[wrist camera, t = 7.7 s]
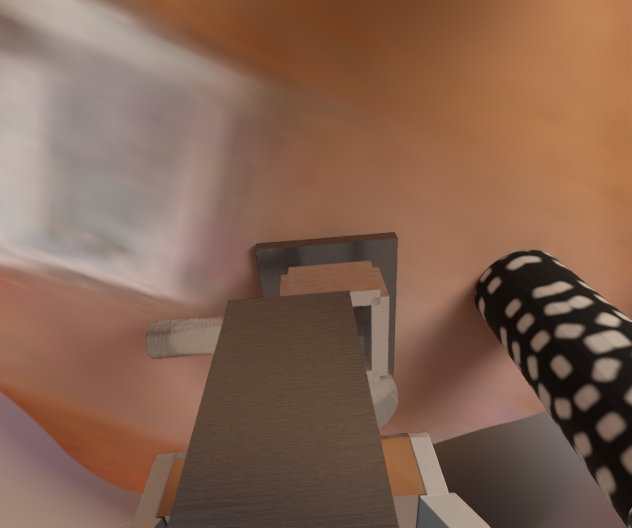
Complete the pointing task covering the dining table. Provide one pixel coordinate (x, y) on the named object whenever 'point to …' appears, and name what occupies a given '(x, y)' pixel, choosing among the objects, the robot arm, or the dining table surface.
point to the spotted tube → (569, 359)
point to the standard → (316, 277)
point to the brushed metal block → (286, 423)
